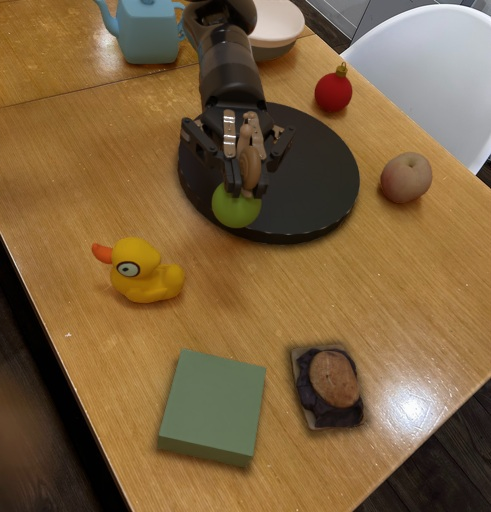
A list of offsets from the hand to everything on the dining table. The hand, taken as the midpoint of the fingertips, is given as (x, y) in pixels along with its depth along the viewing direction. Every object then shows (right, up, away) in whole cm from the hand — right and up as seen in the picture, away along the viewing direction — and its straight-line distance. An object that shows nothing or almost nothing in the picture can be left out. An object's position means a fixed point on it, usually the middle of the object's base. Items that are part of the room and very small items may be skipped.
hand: (248, 192), depth 50 cm
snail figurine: (-2, -2, +7) cm, 8 cm away
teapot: (-21, +33, +47) cm, 61 cm away
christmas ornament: (+16, +22, +46) cm, 54 cm away
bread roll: (+10, -23, +13) cm, 28 cm away
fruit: (+25, +4, +36) cm, 44 cm away
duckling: (-14, -11, +16) cm, 24 cm away
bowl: (+1, +36, +53) cm, 65 cm away
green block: (-4, -25, +8) cm, 27 cm away
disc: (+3, +7, +33) cm, 34 cm away
